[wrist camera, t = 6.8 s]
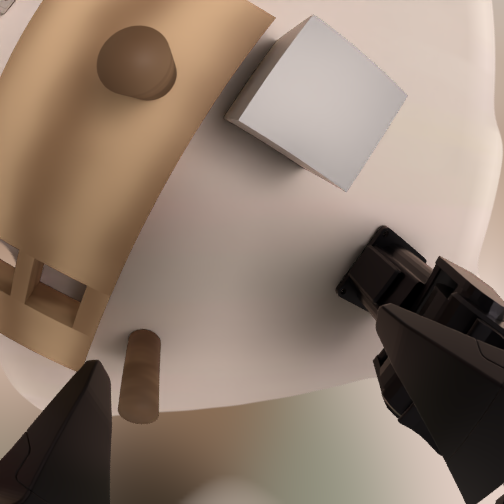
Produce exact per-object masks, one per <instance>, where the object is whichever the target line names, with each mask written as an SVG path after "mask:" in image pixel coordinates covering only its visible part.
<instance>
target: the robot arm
mask: <svg viewBox="0 0 504 504" xmlns="http://www.w3.org/2000/svg"><path fill="white" fill-rule="evenodd" d="M385 231H386V233H385V234H384V235H383V233H384V232H385ZM435 263H436V265H435V267H434V269H432V268H431V267H429V266H428V265H427V264H426V259H425V258H424V257H423V256H422V255H420V254H419V253H418V252H417V251H416V250H415V249H413V248H412V247H411V246H410V245H409V244H408V243H406V242H405V241H404V240H403V239H402V238H401V237H399V236H398V235H397V234H396V233H395V232H393V231H392V230H391V229H390V228H388V227H387V226H382V227H380V229H379V230H378V231H377V233H376V234H375V236H374V237H373V238H372V240H371V241H370V243H369V244H368V246H367V247H366V248H365V250H364V251H363V253H362V254H361V255H360V257H359V258H358V259H357V261H356V262H355V264H354V265H353V266H352V268H351V269H350V270H349V272H348V273H347V274H346V276H345V277H344V278H343V280H342V281H341V282H340V284H339V285H338V286H337V288H336V293H337V294H338V296H339V297H341V298H343V299H345V300H347V301H349V302H351V303H353V304H355V305H357V306H359V307H361V308H362V309H364V310H366V311H368V312H370V313H371V315H372V316H373V317H374V318H375V320H376V331H377V334H378V336H379V338H380V340H381V342H382V344H383V346H384V348H383V350H382V351H381V352H380V354H379V355H377V356H376V357H375V359H374V360H373V363H374V367H375V370H376V374H377V377H378V381H379V384H380V388H381V392H382V397H383V399H384V402H385V404H386V406H387V408H388V409H389V410H390V411H391V412H392V413H393V414H394V415H395V416H396V417H397V418H398V422H399V423H401V424H402V425H405V426H406V427H408V428H410V429H412V430H413V431H415V432H416V433H417V434H419V435H420V436H421V437H422V438H423V439H424V440H426V441H427V442H428V444H429V445H430V446H431V447H432V448H433V449H434V450H435V451H436V452H437V453H438V454H439V455H441V456H443V458H444V460H445V462H446V464H447V466H448V468H449V470H450V472H451V474H452V476H453V478H454V480H455V482H456V484H457V486H458V488H459V490H460V492H461V494H462V496H463V499H464V501H465V503H466V504H477V503H478V502H480V501H481V500H482V499H483V498H485V497H486V496H488V495H489V494H490V493H491V492H493V491H494V490H495V489H497V488H498V487H499V486H500V485H502V484H503V485H504V301H503V300H502V299H501V298H500V296H499V295H498V294H497V293H496V292H495V291H494V290H493V288H491V287H490V286H489V285H487V284H486V283H485V282H483V281H482V280H481V279H479V278H478V277H477V276H475V275H474V274H472V273H471V272H469V271H467V270H465V269H464V268H462V267H460V266H458V265H456V264H454V263H452V262H450V261H448V260H446V259H444V258H443V257H441V256H439V257H438V259H437V261H436V262H435ZM342 289H344V290H343V291H342V292H341V290H342ZM111 433H112V412H111V382H110V378H109V376H108V374H107V372H106V371H105V369H104V367H103V365H102V363H101V362H100V361H99V360H89V361H86V362H85V364H84V365H83V366H82V367H81V368H80V369H79V370H78V371H77V372H76V374H75V375H74V376H73V377H72V378H71V379H70V380H69V381H68V383H67V384H66V385H65V386H64V387H63V388H62V389H61V391H60V392H59V393H58V394H57V395H56V396H55V398H54V399H53V400H52V401H51V402H50V403H49V404H48V406H47V407H46V408H45V409H44V410H43V412H42V413H41V414H40V415H39V416H38V418H37V419H36V420H35V421H34V422H33V424H32V425H31V426H30V427H29V428H28V429H27V432H25V433H24V434H23V435H22V437H21V438H20V439H19V440H18V441H17V442H16V444H15V445H14V446H13V447H12V449H10V451H9V452H8V453H7V454H6V455H5V456H4V457H3V458H2V459H1V460H0V504H110V454H111ZM495 504H504V494H503V495H502V496H501V497H500V498H498V499H497V500H496V503H495Z"/></svg>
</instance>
